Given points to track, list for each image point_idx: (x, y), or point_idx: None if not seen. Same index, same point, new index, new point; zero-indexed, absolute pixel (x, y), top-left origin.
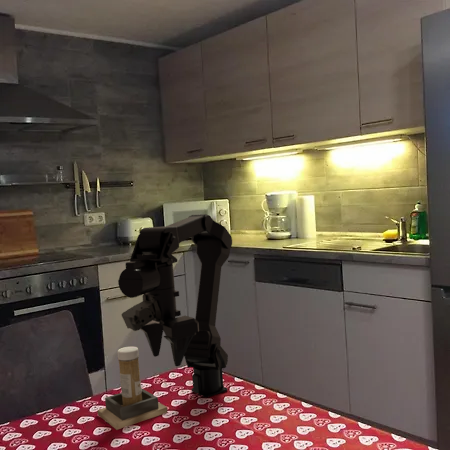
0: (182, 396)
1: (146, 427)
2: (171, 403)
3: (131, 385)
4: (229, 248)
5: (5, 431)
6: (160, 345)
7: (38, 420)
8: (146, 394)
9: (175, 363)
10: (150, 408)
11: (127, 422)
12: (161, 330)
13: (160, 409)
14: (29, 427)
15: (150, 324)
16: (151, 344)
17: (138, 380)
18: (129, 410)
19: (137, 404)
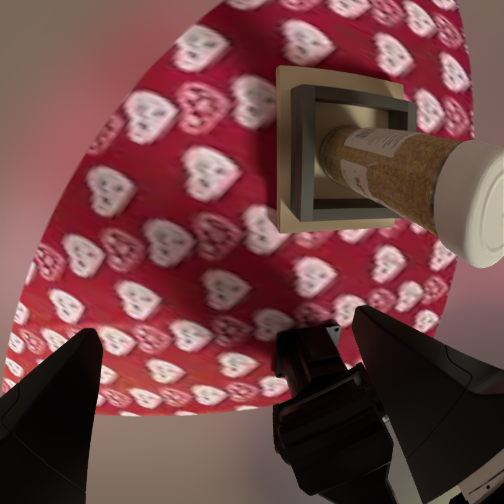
0: (332, 297)
1: (228, 137)
2: (319, 261)
3: (364, 151)
4: None
5: None
6: (372, 380)
7: (440, 8)
8: (353, 207)
9: (74, 336)
10: (293, 185)
11: (279, 100)
12: (412, 459)
13: (280, 212)
14: None
15: (488, 461)
16: (404, 349)
17: (370, 188)
18: (298, 113)
19: (301, 143)
